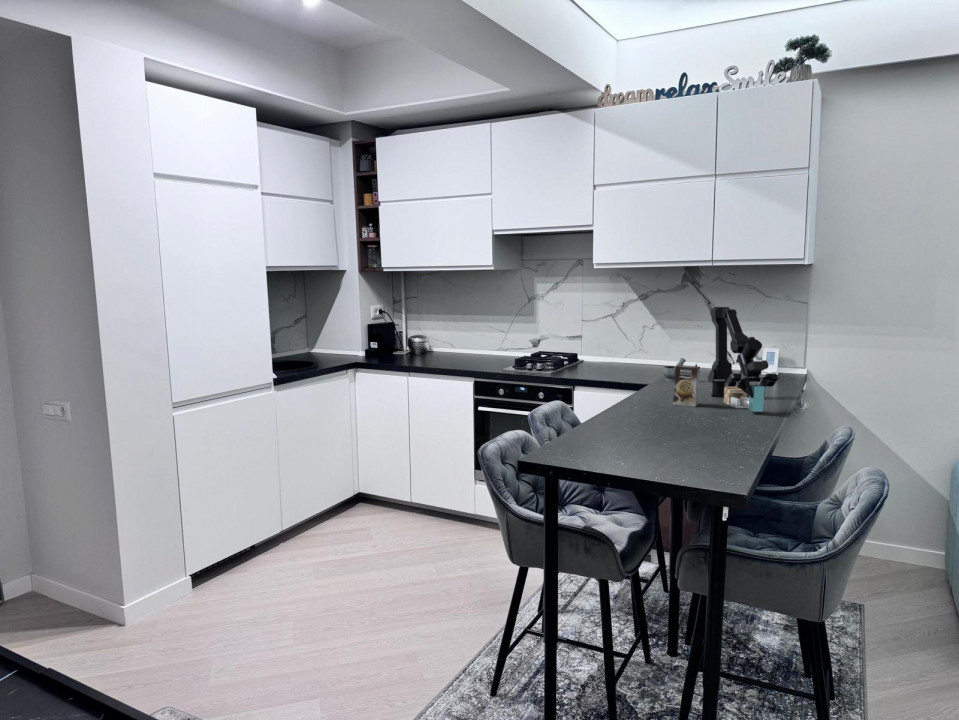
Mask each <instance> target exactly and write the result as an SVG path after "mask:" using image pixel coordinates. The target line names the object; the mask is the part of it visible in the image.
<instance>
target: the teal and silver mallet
mask: <svg viewBox="0 0 959 720" xmlns="http://www.w3.org/2000/svg"><path fill="white" fill-rule="evenodd" d="M750 387H751V390H752V392H753V396H754V397H753V398H751V397H750V396H749V395H748V397H747V396H746V397H747V398H746V397H740V398H739V400H740V404H742V405H744V406H746V407H748V408H747V409H748V411H751V412H764V403H765V402H764V401H765V397H764V391H765V392H766V388H765V387H764V386H762V385H759V384H750ZM748 398H749V399H748Z"/></svg>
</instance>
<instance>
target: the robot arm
mask: <svg viewBox="0 0 959 720" xmlns="http://www.w3.org/2000/svg"><path fill="white" fill-rule="evenodd" d="M737 314H738V313H737V310H736V309H734V308H731V307H730V306H714V307H712V309H711V310H710V317H711V322H712V324H713V325H714V327H715V360H714V361H713V364H712V365H711V370H710V371H709V374H708V376H707V382H709V383H711V392H710V393H709V395H710V396H711V397H714V398H715V397H716V398H717V397H719V398H721V397H722V398H724V389H725V387H738V388H740V389H741V390H743V391H744V392H745V393H746V395H747V396H748V397H749V396H750V397H751V398H753V397H754V396H753V392H752V390H751V387H750V385H751V384H750V383H757V385H762V386H764V387H765V389H766V387H768V388H769V387H771V388H772V387H774V386H775V385H776V383H777V382H778V381H779V380H780V379H779V375H778V374H777V373H773V372H772V373H770V372H769V373H768V372H767V373H766V374H765V375H764V376H762V372H763V371H764V370H768V368H769V362H768V360H767V359H766V360H761V361H756V360H754V359H755V358H756V357H757V356H758V355H759V352H760V351H761V350H762V348H763V343H762V342H761V341H760V340H759V339H756V338H755V336H748V335H746V334H745V333H744V331H743V329H742V326H741V324H740V322H739V319H738V316H737ZM728 332H729V334H730V338H731V340H730V343H729V345H730V351H731V352H732V353H733V354H738V355H737V357H736V361H735V363H738V364H739V367H740V368H739V369H740V370H739V373H737V372H735V373H734V372H733V369H732V368H733V365H732V363H731V362H730V361H729V360H728ZM726 384H727V385H726ZM765 396H766V390H765V391H764V398H765Z"/></svg>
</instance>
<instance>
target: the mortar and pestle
mask: <svg viewBox="0 0 959 720" xmlns="http://www.w3.org/2000/svg"><path fill="white" fill-rule="evenodd" d="M686 362H687V360H686V358H684V357H681V358H680V359H679V361H678V362H677V364H676V365H675V366H677V365H685V364H684V363H686ZM675 366H674V365H664V366H663V365H662V373H663V376H664V377H665V382H668V381H669V383H674V382H675Z"/></svg>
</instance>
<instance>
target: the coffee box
mask: <svg viewBox="0 0 959 720" xmlns="http://www.w3.org/2000/svg"><path fill="white" fill-rule="evenodd" d="M676 365H677V364H676ZM676 365H675V382H673V383H674V384H673V385H674V386H673V399H672V400H673V401H672V404H673V405H676V406H684V407H697V406H698V404H699V403H698V401H699V388H700V387H699V385H700V371H701V367H700V366H696V365H685V364H683V365H677V366H676Z"/></svg>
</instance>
